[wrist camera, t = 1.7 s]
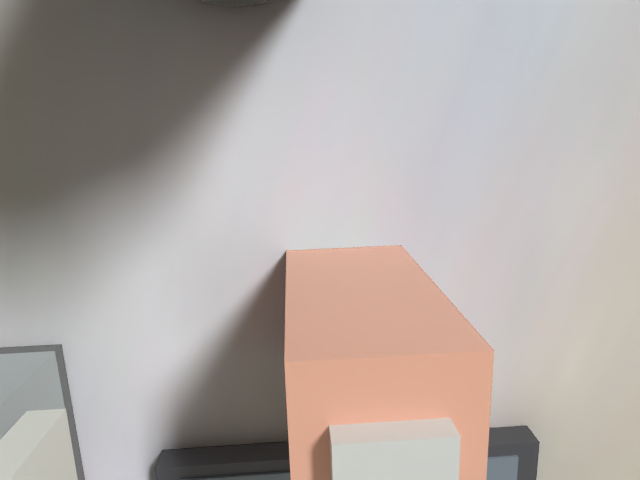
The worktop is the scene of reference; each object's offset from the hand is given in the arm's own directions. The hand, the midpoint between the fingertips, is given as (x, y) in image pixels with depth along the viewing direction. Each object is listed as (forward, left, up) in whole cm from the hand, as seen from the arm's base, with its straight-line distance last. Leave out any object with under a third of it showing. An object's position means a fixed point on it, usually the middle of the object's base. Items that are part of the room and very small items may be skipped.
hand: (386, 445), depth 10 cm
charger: (0, 0, -7) cm, 7 cm away
